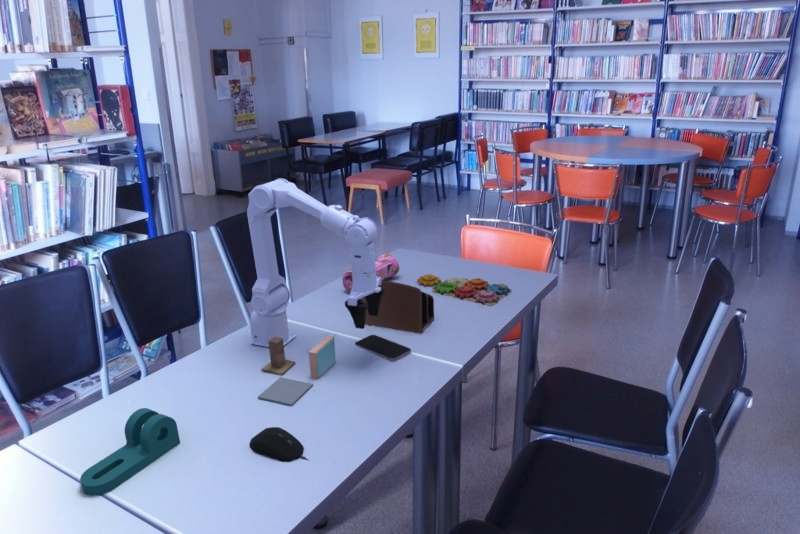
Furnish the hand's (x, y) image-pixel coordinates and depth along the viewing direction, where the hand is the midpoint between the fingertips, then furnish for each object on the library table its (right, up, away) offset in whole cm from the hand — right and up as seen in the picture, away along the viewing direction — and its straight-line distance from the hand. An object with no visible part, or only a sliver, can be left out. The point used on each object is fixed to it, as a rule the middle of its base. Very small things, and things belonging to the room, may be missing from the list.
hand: (366, 321), depth 144 cm
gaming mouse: (-15, -23, -30) cm, 40 cm away
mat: (-18, -15, -11) cm, 26 cm away
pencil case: (-1, +7, +51) cm, 51 cm away
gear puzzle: (+28, +6, +46) cm, 54 cm away
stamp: (-22, -12, 0) cm, 25 cm away
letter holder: (+7, -3, +23) cm, 24 cm away
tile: (-10, -12, -1) cm, 16 cm away
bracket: (-43, -25, -33) cm, 60 cm away
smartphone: (+4, -8, +8) cm, 12 cm away
